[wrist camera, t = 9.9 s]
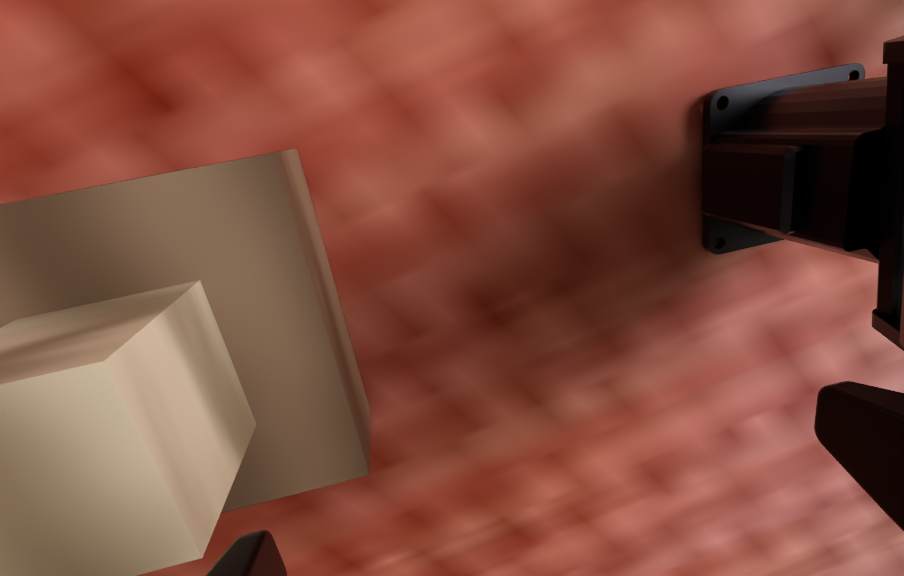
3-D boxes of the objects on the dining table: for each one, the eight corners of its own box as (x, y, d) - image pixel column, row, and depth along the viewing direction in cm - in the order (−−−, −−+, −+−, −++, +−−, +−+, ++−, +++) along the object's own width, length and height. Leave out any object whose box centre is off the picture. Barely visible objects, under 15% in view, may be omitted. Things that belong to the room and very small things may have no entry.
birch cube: (200, 280, 13) (104, 360, 9) (256, 424, 15) (202, 557, 10) (15, 319, 13) (-191, 427, 8) (95, 463, 15) (-39, 622, 10)
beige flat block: (296, 148, 16) (273, 153, 13) (370, 410, 20) (369, 475, 16) (-39, 211, 15) (-173, 238, 12) (104, 475, 19) (39, 559, 15)
